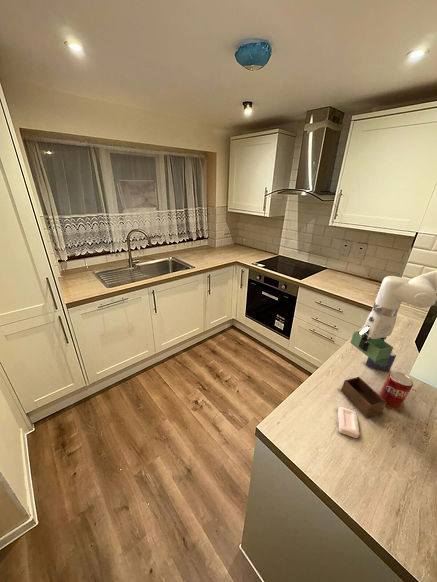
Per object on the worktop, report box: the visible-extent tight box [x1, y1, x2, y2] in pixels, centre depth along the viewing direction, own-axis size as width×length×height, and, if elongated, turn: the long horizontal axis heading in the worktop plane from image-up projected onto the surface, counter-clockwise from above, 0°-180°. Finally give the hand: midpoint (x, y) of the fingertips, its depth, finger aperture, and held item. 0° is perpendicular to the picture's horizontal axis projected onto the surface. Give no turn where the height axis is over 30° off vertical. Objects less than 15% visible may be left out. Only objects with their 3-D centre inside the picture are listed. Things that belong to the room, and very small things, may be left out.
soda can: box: [378, 370, 414, 410], centre depth 85 cm, size 7×7×12 cm
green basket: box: [350, 330, 394, 362], centre depth 93 cm, size 12×7×6 cm, turn 17°
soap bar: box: [337, 406, 360, 439], centre depth 79 cm, size 5×9×2 cm, turn 158°
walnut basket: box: [340, 376, 387, 419], centre depth 86 cm, size 12×7×6 cm, turn 17°
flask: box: [365, 351, 397, 373], centre depth 102 cm, size 9×3×11 cm, turn 66°
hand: (369, 347), depth 94 cm, fingers closed on green basket, 7 cm apart
